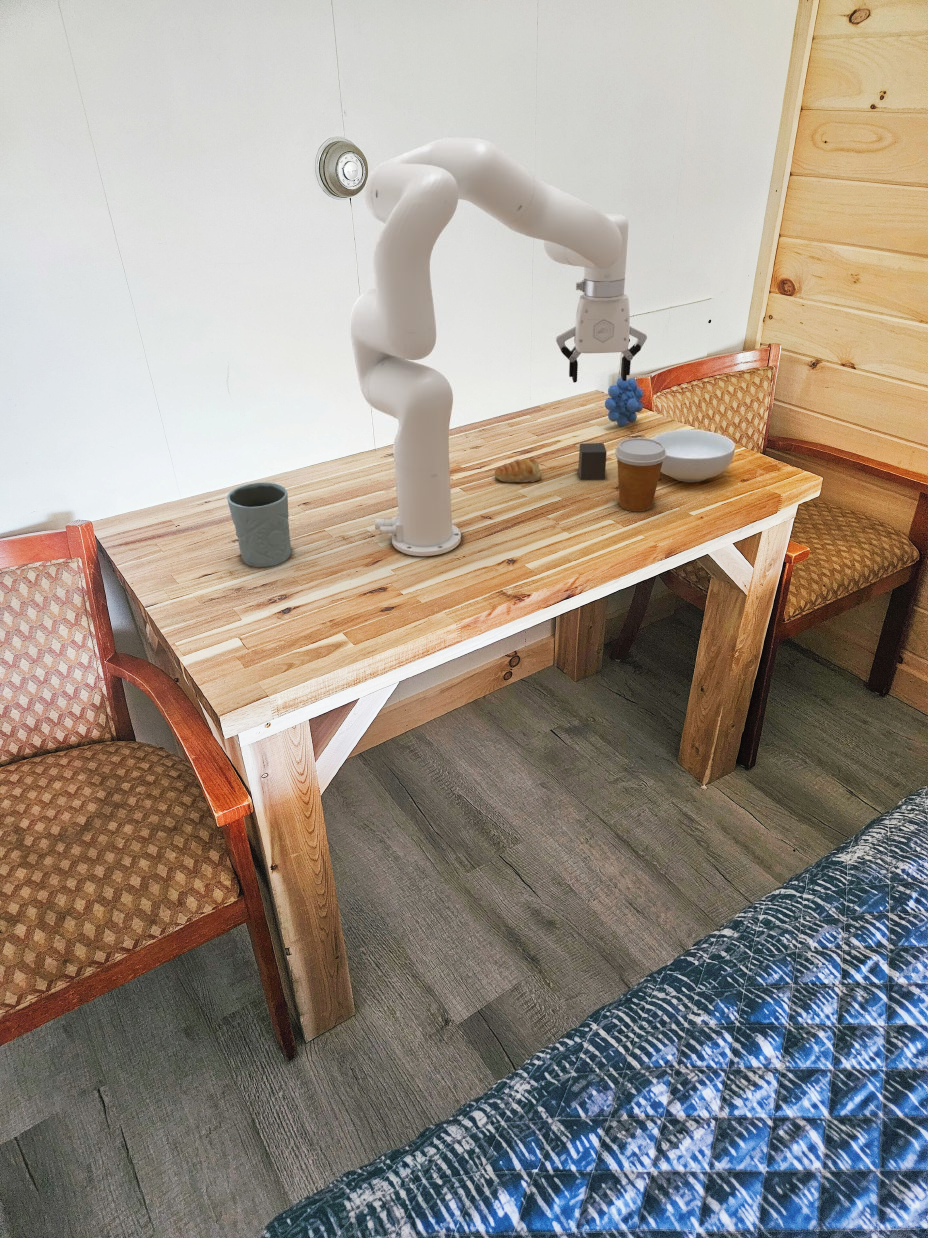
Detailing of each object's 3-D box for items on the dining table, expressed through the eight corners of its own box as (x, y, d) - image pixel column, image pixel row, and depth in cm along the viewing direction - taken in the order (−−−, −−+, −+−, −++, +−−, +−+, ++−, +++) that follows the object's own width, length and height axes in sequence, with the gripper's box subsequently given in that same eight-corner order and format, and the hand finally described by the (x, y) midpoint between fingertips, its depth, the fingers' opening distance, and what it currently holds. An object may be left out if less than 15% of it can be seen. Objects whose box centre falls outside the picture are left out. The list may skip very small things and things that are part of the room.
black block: (580, 479, 170) (582, 452, 167) (578, 470, 175) (579, 443, 171) (604, 479, 170) (606, 451, 167) (601, 469, 174) (603, 442, 171)
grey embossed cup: (247, 542, 150) (235, 482, 144) (302, 542, 150) (292, 481, 144) (232, 570, 142) (219, 506, 135) (290, 569, 142) (279, 506, 135)
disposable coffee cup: (664, 514, 155) (671, 455, 149) (614, 515, 156) (619, 456, 149) (655, 493, 163) (662, 436, 157) (607, 494, 164) (612, 437, 157)
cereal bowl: (701, 455, 180) (706, 423, 176) (746, 483, 166) (752, 450, 162) (632, 466, 175) (635, 434, 172) (672, 496, 162) (676, 463, 158)
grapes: (616, 436, 190) (620, 385, 184) (597, 428, 195) (600, 378, 189) (653, 426, 196) (658, 375, 189) (633, 418, 200) (637, 369, 194)
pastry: (499, 486, 169) (499, 469, 166) (491, 474, 174) (490, 457, 172) (542, 481, 170) (543, 463, 168) (533, 469, 176) (533, 452, 174)
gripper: (558, 294, 149) (556, 386, 159) (654, 290, 149) (646, 384, 158) (555, 285, 156) (553, 375, 165) (647, 282, 155) (640, 372, 164)
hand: (598, 379), depth 162 cm, fingers open, 9 cm apart
